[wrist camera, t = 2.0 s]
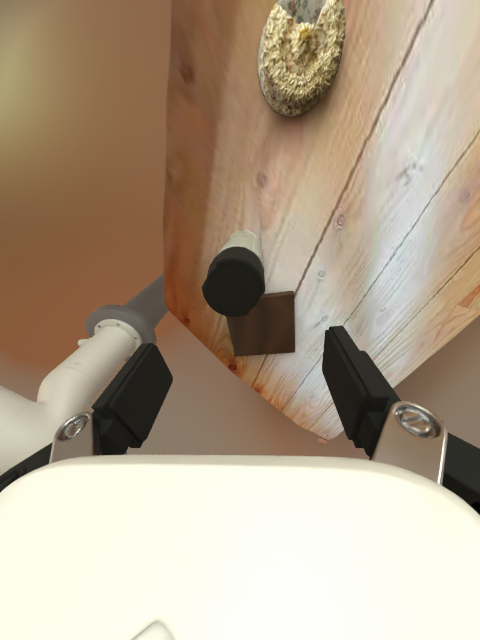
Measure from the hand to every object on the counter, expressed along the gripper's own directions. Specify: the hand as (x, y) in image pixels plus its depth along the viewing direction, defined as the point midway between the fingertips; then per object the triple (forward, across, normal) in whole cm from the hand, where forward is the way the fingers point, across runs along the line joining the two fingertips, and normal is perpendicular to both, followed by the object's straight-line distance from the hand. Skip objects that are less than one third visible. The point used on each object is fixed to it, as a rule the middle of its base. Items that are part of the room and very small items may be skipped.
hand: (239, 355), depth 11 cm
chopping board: (+30, 0, +18) cm, 35 cm away
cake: (+30, -9, -20) cm, 37 cm away
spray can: (+30, +2, 0) cm, 30 cm away
